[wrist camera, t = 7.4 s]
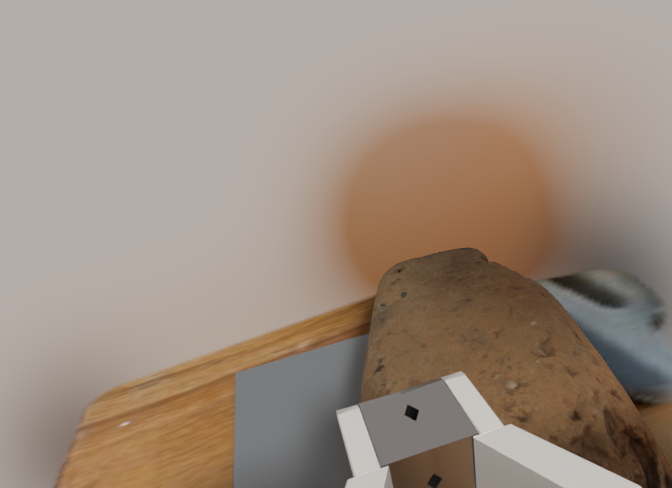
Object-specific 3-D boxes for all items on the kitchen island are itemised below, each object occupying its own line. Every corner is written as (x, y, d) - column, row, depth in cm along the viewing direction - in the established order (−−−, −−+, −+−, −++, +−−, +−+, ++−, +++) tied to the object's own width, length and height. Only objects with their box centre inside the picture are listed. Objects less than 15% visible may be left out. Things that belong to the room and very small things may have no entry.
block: (321, 519, 13) (369, 262, 31) (394, 658, 15) (398, 342, 33) (724, 477, 10) (515, 222, 28) (740, 655, 12) (536, 311, 31)
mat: (423, 321, 34) (422, 317, 34) (586, 541, 18) (587, 536, 18) (237, 376, 32) (235, 372, 32) (232, 678, 16) (229, 674, 16)
